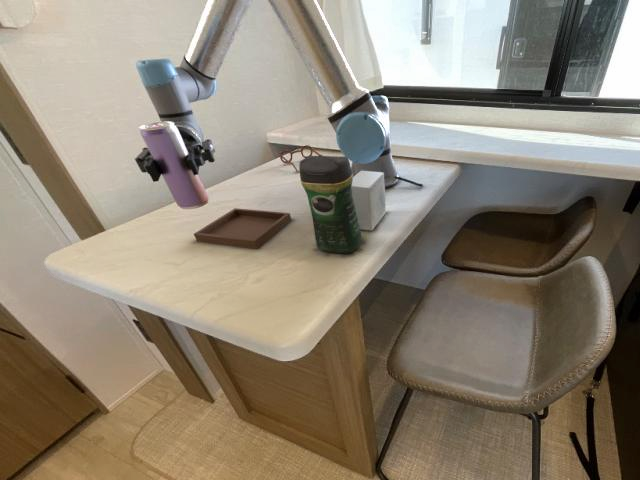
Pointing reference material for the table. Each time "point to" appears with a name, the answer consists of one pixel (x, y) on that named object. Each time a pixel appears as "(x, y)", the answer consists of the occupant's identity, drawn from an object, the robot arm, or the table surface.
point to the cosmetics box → (369, 198)
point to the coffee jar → (331, 202)
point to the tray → (243, 228)
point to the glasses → (296, 152)
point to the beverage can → (174, 164)
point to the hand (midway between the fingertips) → (172, 170)
